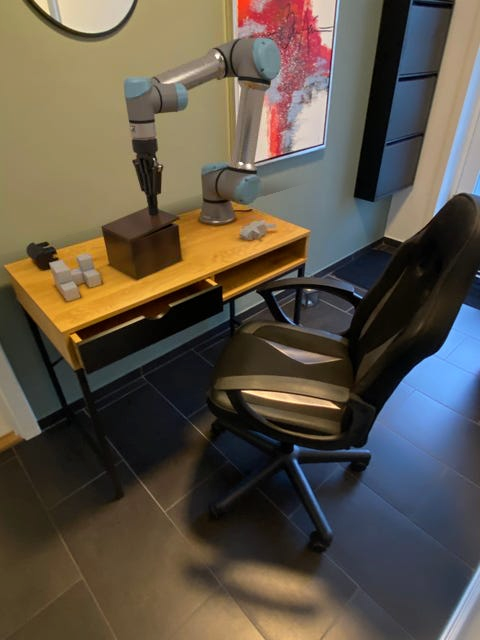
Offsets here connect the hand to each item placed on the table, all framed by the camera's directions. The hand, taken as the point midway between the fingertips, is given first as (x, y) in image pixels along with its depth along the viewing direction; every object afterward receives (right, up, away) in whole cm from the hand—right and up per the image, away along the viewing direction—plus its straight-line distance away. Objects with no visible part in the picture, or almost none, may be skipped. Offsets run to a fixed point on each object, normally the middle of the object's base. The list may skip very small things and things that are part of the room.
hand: (153, 214), depth 132 cm
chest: (-4, -15, +5) cm, 17 cm away
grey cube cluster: (-21, -25, -8) cm, 34 cm away
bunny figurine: (+35, -2, +25) cm, 43 cm away
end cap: (-39, -16, +5) cm, 42 cm away
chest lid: (-4, -4, -2) cm, 6 cm away
